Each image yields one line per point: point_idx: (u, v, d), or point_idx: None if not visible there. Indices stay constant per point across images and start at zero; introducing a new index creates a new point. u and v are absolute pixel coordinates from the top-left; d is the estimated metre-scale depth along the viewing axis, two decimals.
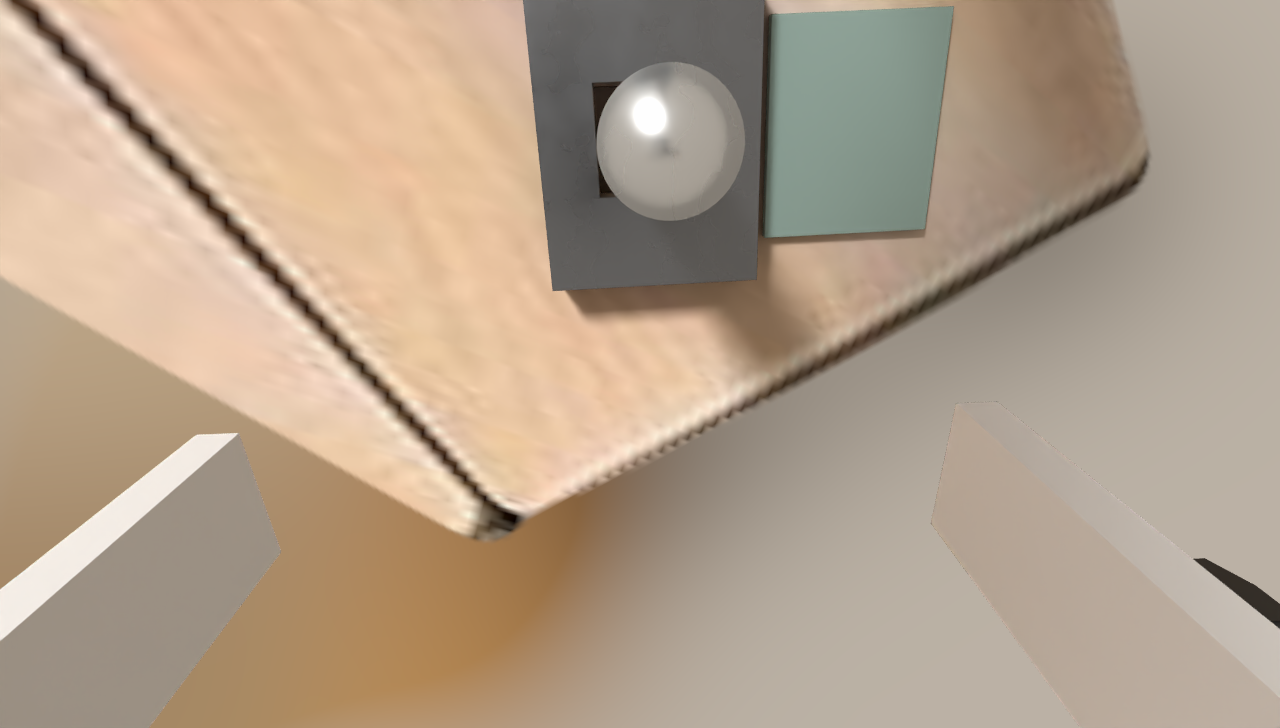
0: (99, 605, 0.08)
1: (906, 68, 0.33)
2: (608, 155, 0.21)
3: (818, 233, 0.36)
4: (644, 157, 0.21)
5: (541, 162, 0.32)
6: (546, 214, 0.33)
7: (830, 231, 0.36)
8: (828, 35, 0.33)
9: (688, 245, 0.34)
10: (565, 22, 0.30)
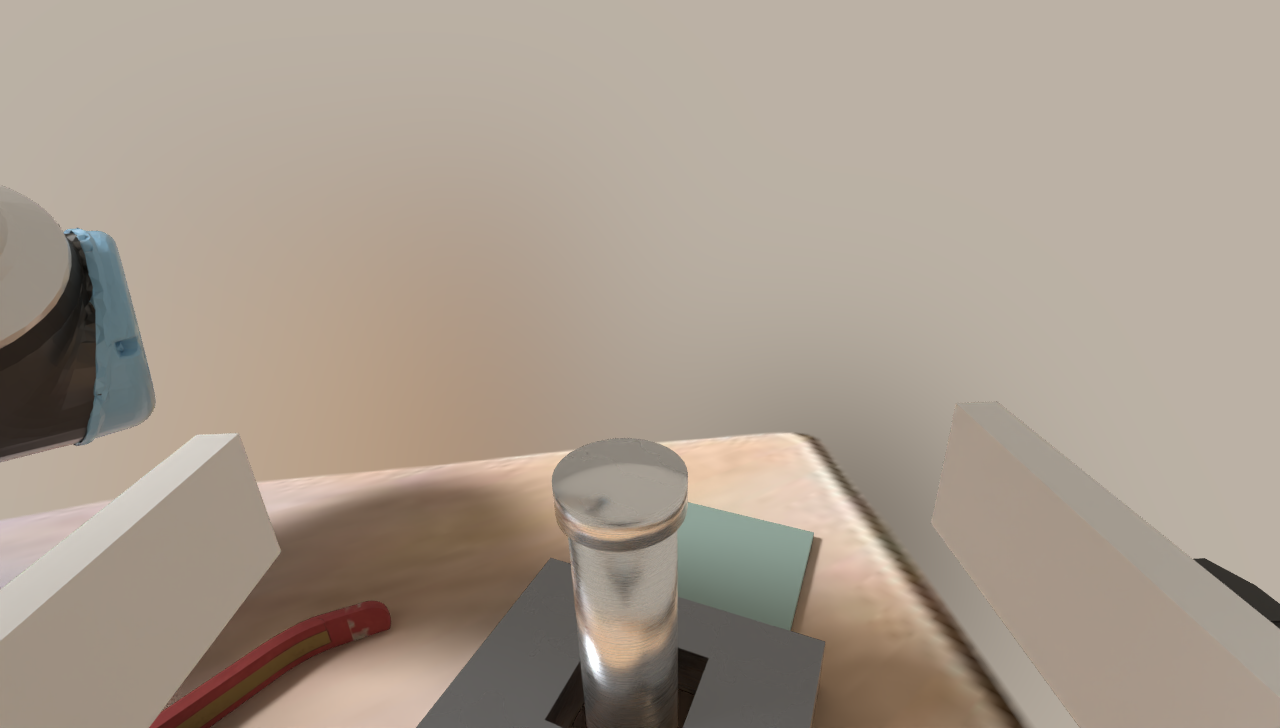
0: (99, 605, 0.08)
1: None
2: (599, 509, 0.21)
3: (794, 602, 0.35)
4: (618, 489, 0.22)
5: None
6: None
7: (795, 593, 0.36)
8: None
9: (763, 693, 0.27)
10: (478, 719, 0.27)
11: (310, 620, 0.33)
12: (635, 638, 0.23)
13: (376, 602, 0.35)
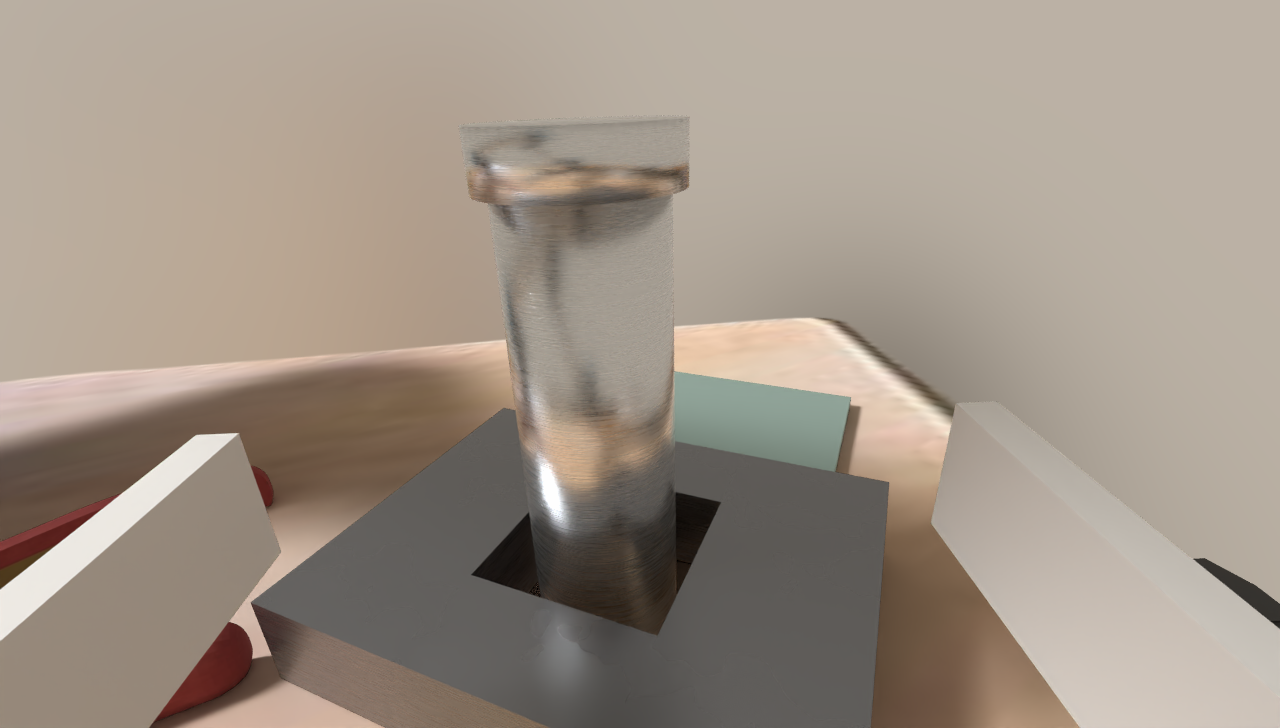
0: (99, 606, 0.08)
1: (676, 389, 0.33)
2: (532, 125, 0.12)
3: (834, 462, 0.26)
4: (569, 122, 0.13)
5: (523, 711, 0.13)
6: None
7: (834, 453, 0.27)
8: None
9: (804, 539, 0.18)
10: (369, 575, 0.17)
11: None
12: (605, 407, 0.14)
13: (251, 466, 0.25)
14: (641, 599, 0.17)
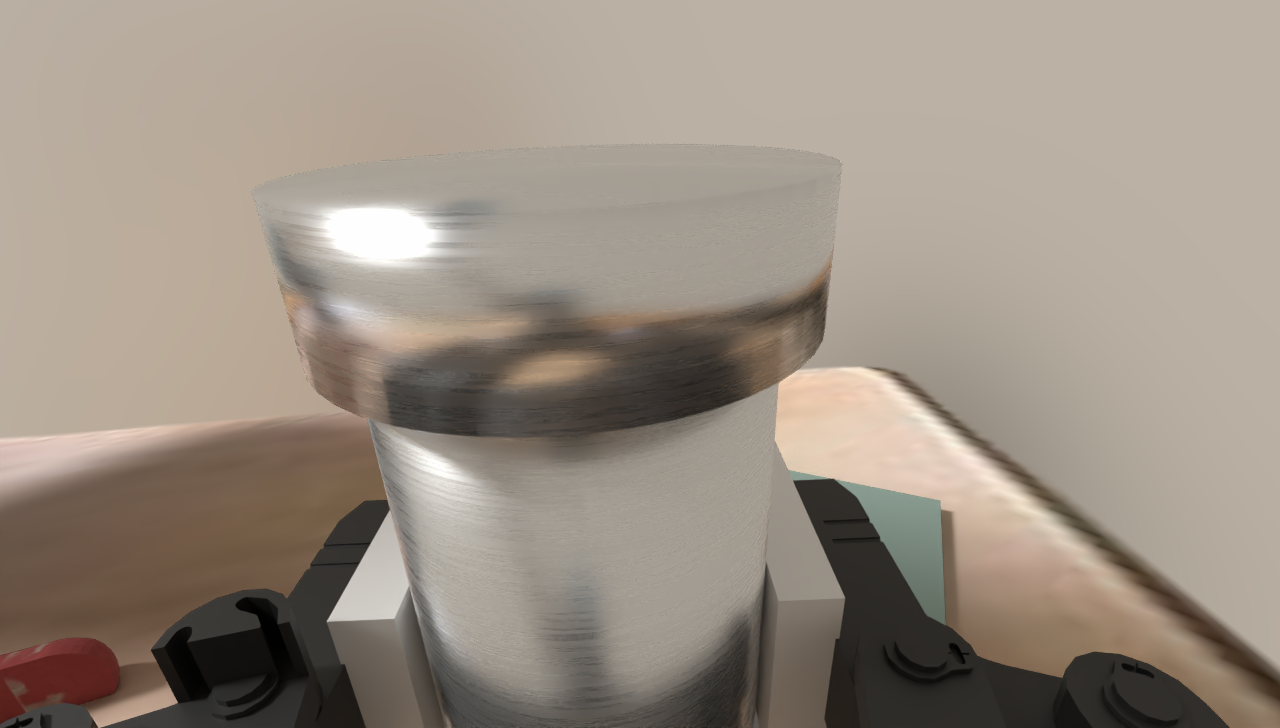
0: None
1: None
2: (421, 202, 0.04)
3: None
4: (541, 177, 0.05)
5: None
6: None
7: (939, 608, 0.19)
8: None
9: None
10: None
11: None
12: None
13: (82, 641, 0.17)
14: None
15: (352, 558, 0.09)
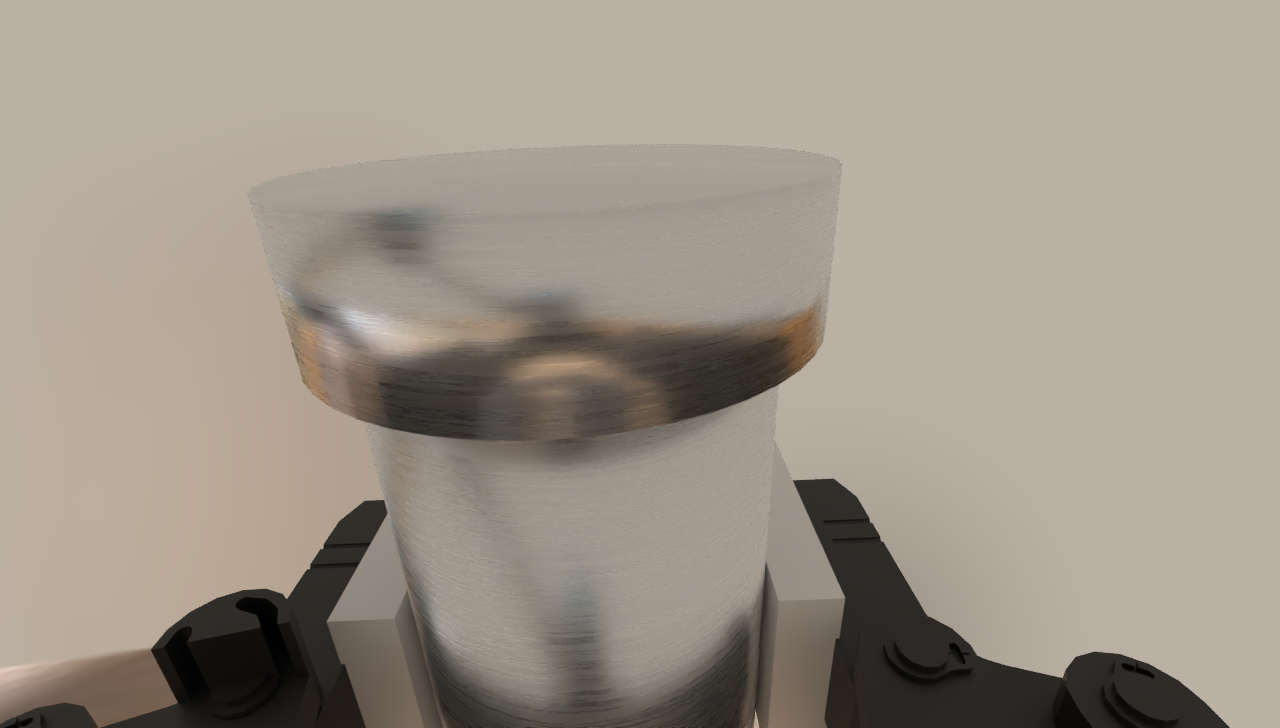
0: None
1: None
2: (417, 203, 0.04)
3: None
4: (539, 178, 0.05)
5: None
6: None
7: None
8: None
9: None
10: None
11: None
12: None
13: None
14: None
15: (352, 558, 0.09)
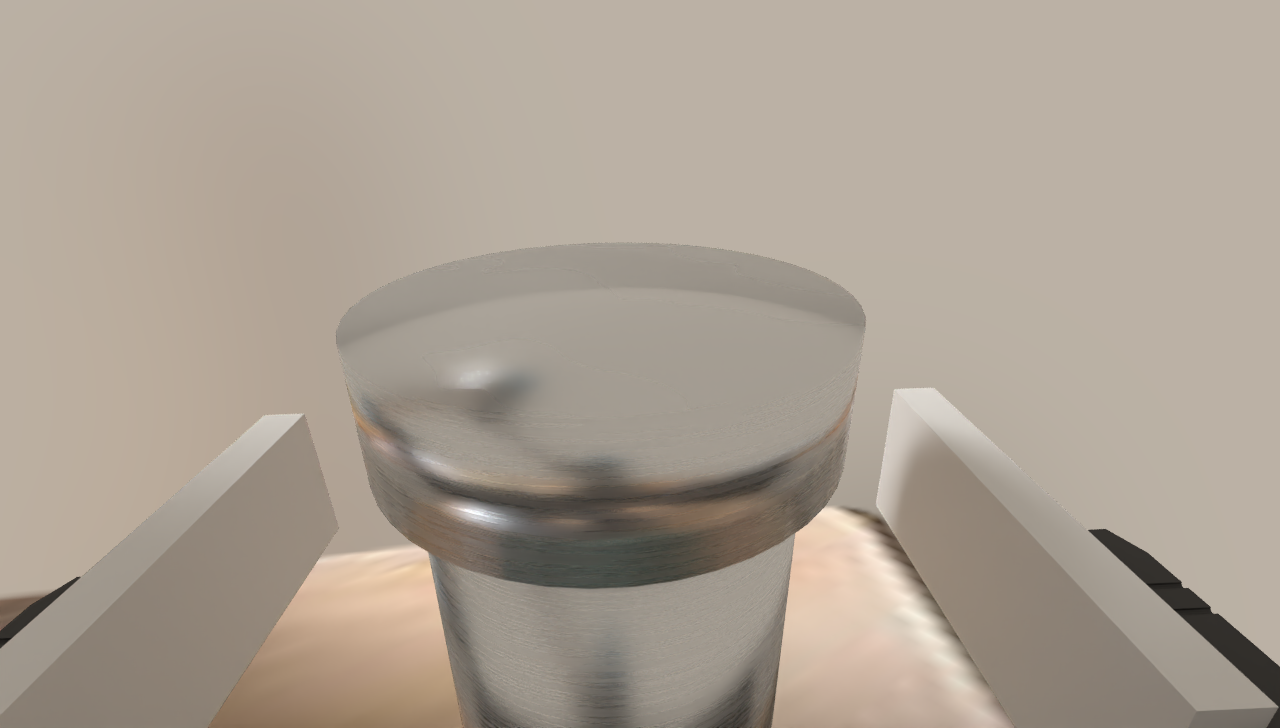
0: (198, 567, 0.08)
1: None
2: (502, 386, 0.04)
3: None
4: (596, 330, 0.05)
5: None
6: None
7: None
8: None
9: None
10: None
11: None
12: None
13: None
14: None
15: None
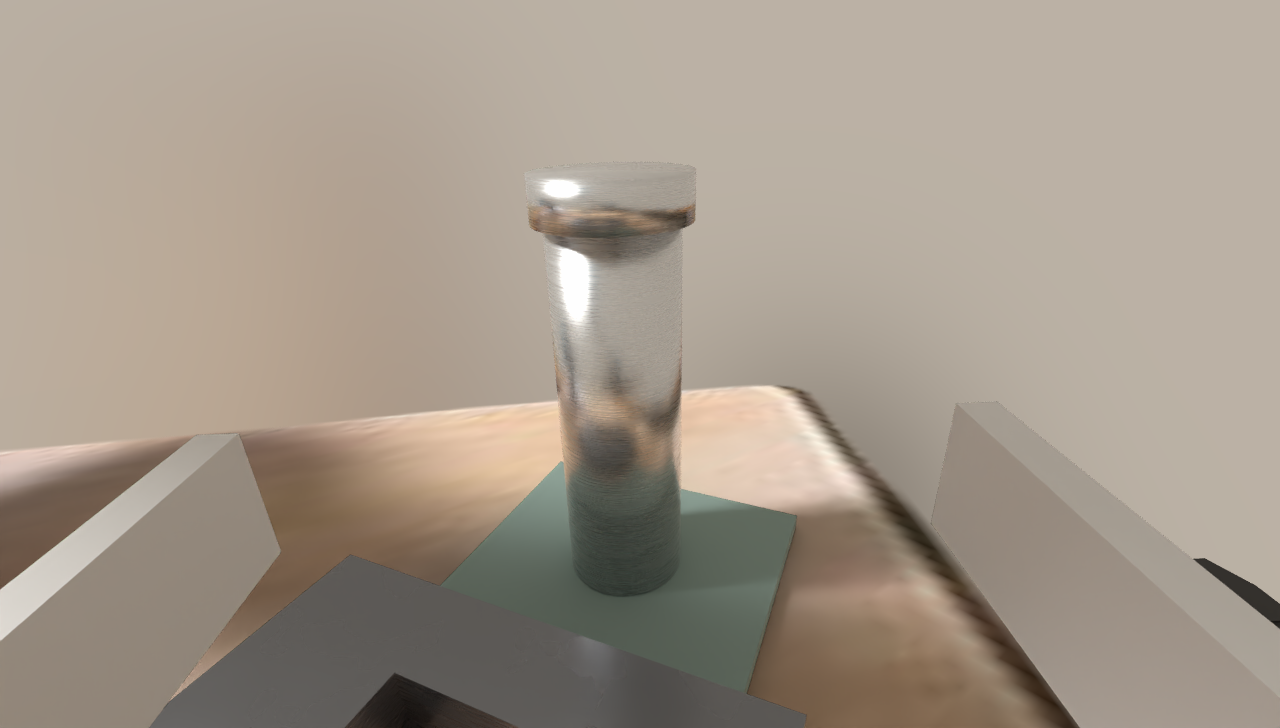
0: (99, 605, 0.08)
1: None
2: (583, 179, 0.16)
3: (760, 629, 0.21)
4: (607, 174, 0.17)
5: None
6: None
7: (762, 613, 0.21)
8: (500, 553, 0.25)
9: None
10: None
11: None
12: (629, 387, 0.19)
13: None
14: (653, 542, 0.21)
15: None
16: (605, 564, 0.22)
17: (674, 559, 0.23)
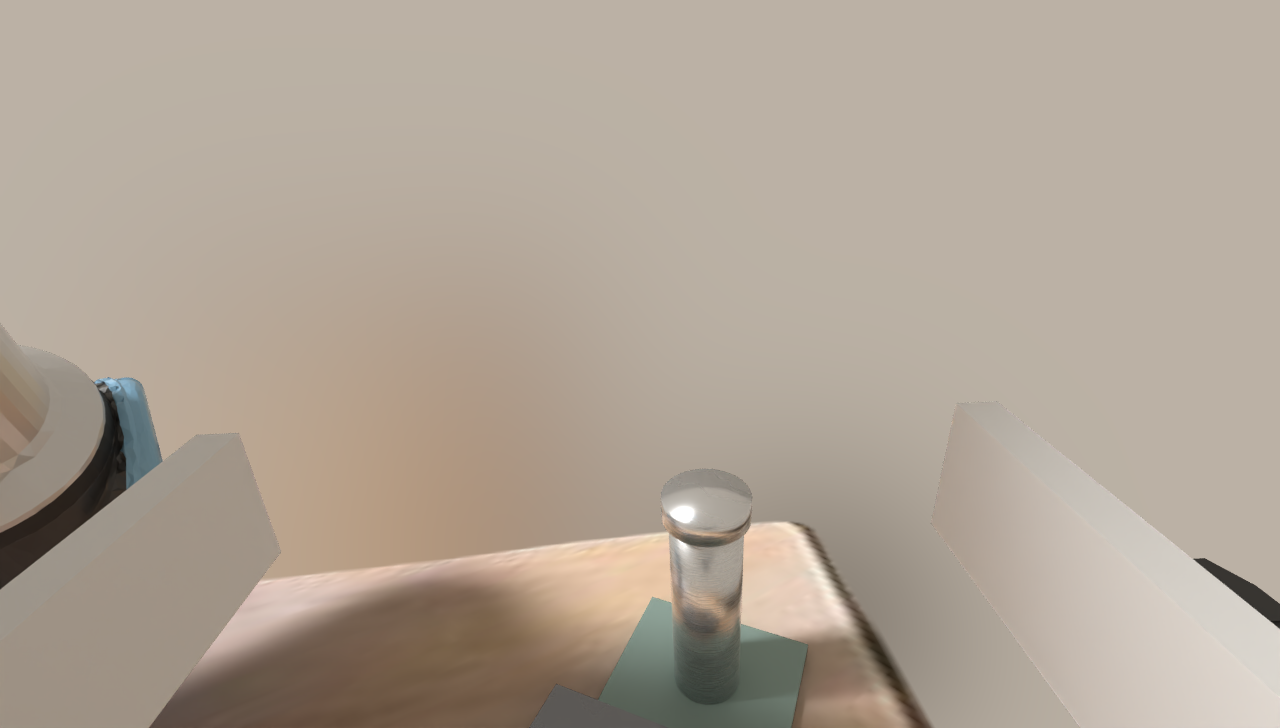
0: (99, 606, 0.08)
1: None
2: (698, 520, 0.32)
3: (789, 727, 0.37)
4: (707, 506, 0.33)
5: None
6: None
7: (790, 716, 0.37)
8: (630, 672, 0.41)
9: None
10: None
11: None
12: (717, 605, 0.35)
13: None
14: (727, 675, 0.38)
15: None
16: (699, 688, 0.38)
17: (737, 680, 0.39)
